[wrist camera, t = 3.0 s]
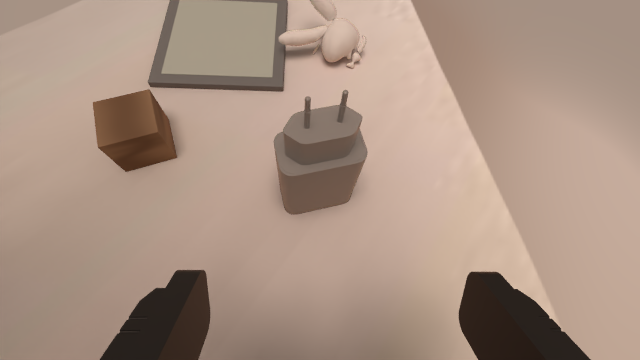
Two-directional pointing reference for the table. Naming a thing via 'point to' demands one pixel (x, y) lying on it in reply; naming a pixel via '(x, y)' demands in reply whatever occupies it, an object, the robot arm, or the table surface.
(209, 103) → the table surface
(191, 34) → the pad
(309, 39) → the rabbit figurine
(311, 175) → the power adapter
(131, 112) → the walnut block
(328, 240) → the table surface
